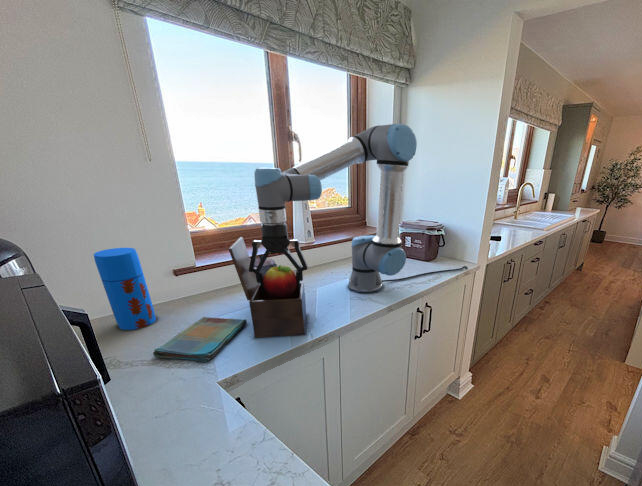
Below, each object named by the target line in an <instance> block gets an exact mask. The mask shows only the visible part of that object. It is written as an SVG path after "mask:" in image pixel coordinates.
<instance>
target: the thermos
mask: <svg viewBox="0 0 642 486" xmlns="http://www.w3.org/2000/svg"><path fill="white" fill-rule="evenodd" d="M93 258H94V259H93V260H94V263H95V266H96V268H97V271H98V274H99V277H100V280H101V283H102V285H103V289H104V291H105V295H106V296H107V299H108V300H107V301H108V302H109V306H110V308H111V311H112V314H113V317H114V320H115V321H116V324H117V326H118V328H119V329H121V330H123V331H133V330H138V329H142V328H145V327H148V326H150V325H152V324H153V323H155V322H156V321H157V317H156V313H155V309H154V305H153V302H152V299H151V295H150V292H149V288H148V284H147V281H146V278H145V275H144V271H143V268H142V265H141V261H140V258H139V254H138V253H137V251H136V248H133V247H114V248H108V249H107V248H106V249H102V250H99V251H96V252H94V253H93Z"/></svg>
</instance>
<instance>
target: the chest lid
mask: <svg viewBox="0 0 642 486" xmlns="http://www.w3.org/2000/svg"><path fill="white" fill-rule="evenodd" d="M228 252H229V254H230V258H231V260H232V263H233V265H234V268H235V270H236V273H237V276H238V279H239V281H240V284H241V287H242V290H243V292H244V295H245V297H246V300H247V301H250V299H251V297H252V295H253V293H254V291H255V289H256V287H257V285H258V283H257V280H256V275H255V273H254V272H249V266H250V261H251V260H250V259H251V256H250V253H249V252H248V249H247V245H246V243H245V240H244V237H243V236H240V237H239V238H238V239H237V240H236V241H235V242H233V244H231V246H230V247H229V248H228Z"/></svg>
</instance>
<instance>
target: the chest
mask: <svg viewBox="0 0 642 486" xmlns="http://www.w3.org/2000/svg"><path fill="white" fill-rule="evenodd" d="M248 303H249V310H250V316H251V322H252V328H253V335H254V339H259V338H260V339H261V338H263V339H264V338H273V337H274V338H275V337H276V338H277V337H291V336H305V335H306V324H307V305H306V293H305V283H304V282H300V291H298V290H297V288H296V290H295V291H294V292H293V293H292V294H291V295H290V296H288V297H284V298H276V297H273V296H271V295H270V294H268V293H267V292H266V290H265V292H264V293H262V291H261V285H257V287H256V289H255V291H254V293H253V295H252V297H251V299H250V300H248Z"/></svg>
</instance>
